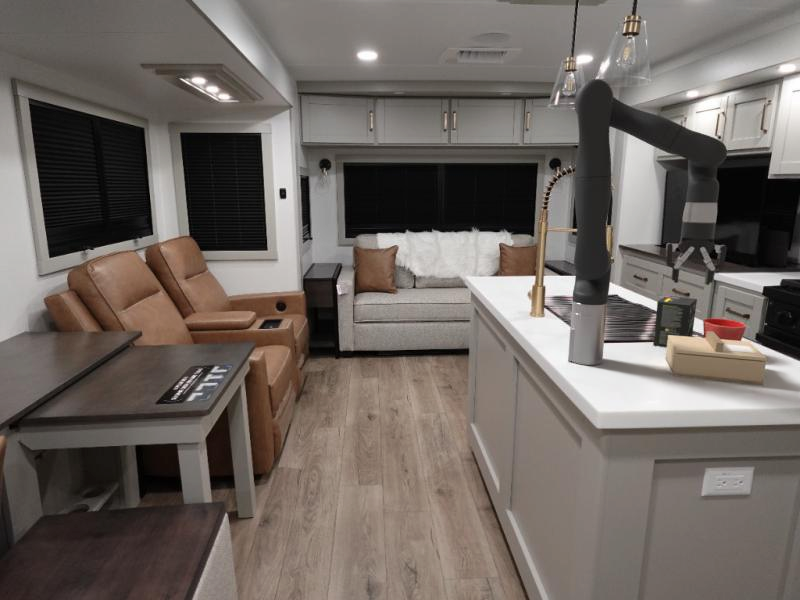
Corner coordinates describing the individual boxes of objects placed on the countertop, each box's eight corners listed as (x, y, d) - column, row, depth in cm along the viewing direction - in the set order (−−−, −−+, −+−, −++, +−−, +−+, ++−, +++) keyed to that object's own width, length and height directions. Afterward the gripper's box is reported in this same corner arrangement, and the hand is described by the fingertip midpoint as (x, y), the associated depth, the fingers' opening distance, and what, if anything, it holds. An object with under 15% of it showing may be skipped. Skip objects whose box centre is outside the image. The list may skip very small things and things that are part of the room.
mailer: (673, 375, 135) (676, 353, 134) (665, 358, 149) (667, 338, 148) (762, 384, 128) (766, 362, 127) (745, 366, 142) (748, 345, 141)
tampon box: (660, 338, 170) (665, 294, 167) (692, 343, 164) (697, 298, 161) (652, 345, 161) (656, 300, 158) (684, 351, 156) (690, 304, 153)
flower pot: (733, 349, 157) (738, 319, 155) (747, 361, 147) (751, 328, 145) (695, 347, 160) (699, 316, 158) (705, 357, 149) (709, 325, 147)
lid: (676, 352, 134) (677, 340, 133) (667, 337, 148) (669, 326, 147) (766, 361, 127) (768, 348, 126) (748, 344, 141) (750, 333, 140)
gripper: (670, 220, 132) (663, 284, 135) (735, 221, 127) (725, 287, 130) (666, 219, 138) (659, 279, 142) (727, 220, 134) (718, 282, 137)
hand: (691, 283), depth 136 cm, fingers open, 7 cm apart
